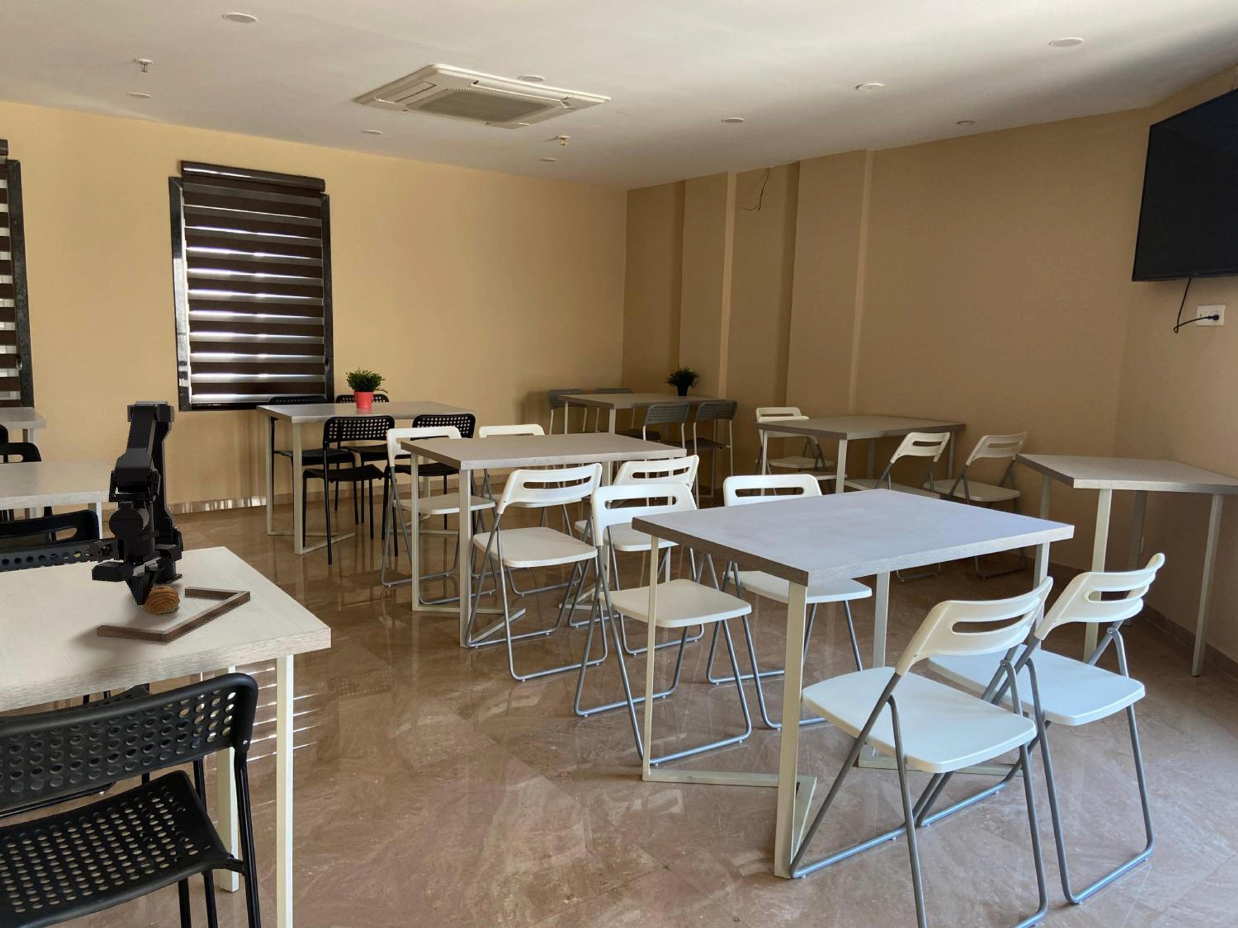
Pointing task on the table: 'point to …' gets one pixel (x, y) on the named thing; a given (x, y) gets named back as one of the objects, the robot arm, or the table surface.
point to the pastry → (162, 600)
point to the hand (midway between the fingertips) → (140, 604)
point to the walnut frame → (184, 626)
